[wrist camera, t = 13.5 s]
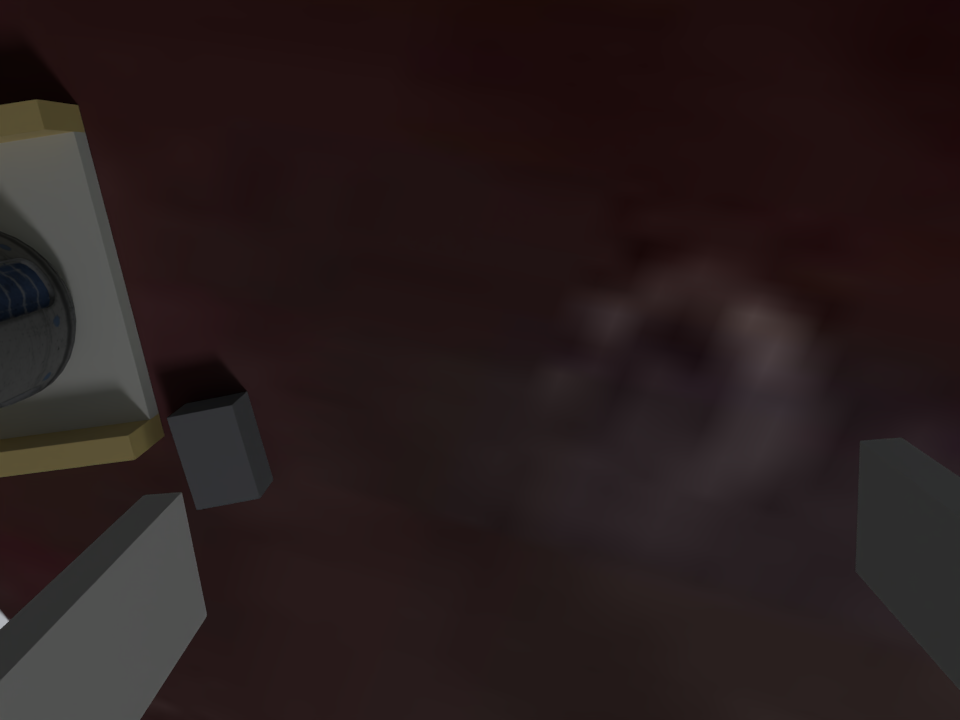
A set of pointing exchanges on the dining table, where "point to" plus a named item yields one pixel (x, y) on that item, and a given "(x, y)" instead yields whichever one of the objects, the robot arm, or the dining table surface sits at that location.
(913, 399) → the dining table surface
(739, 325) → the dining table surface
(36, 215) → the dock bay
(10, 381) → the beverage bottle
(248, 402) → the gray rectangular block
